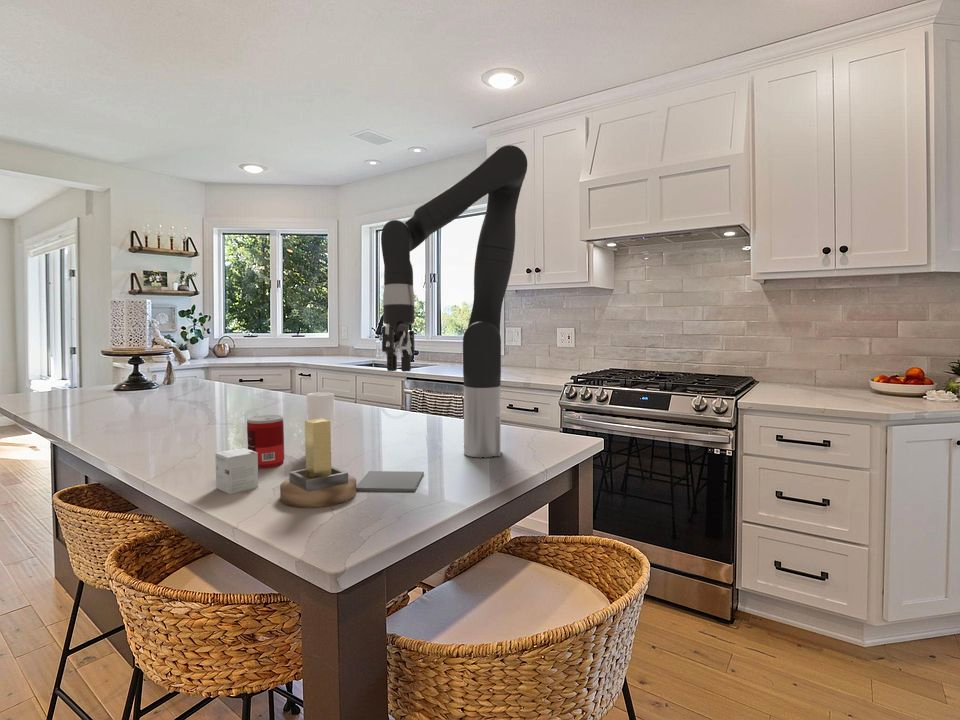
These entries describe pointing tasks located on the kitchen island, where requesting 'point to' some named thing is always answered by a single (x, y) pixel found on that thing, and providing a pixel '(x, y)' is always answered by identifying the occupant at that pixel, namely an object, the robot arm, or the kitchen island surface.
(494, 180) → the robot arm
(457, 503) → the kitchen island surface
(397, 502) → the kitchen island surface
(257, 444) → the canned food
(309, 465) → the brass bar
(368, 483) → the mat
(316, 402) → the drinking glass
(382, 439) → the kitchen island surface
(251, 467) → the skincare box
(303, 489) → the copper round socket base
